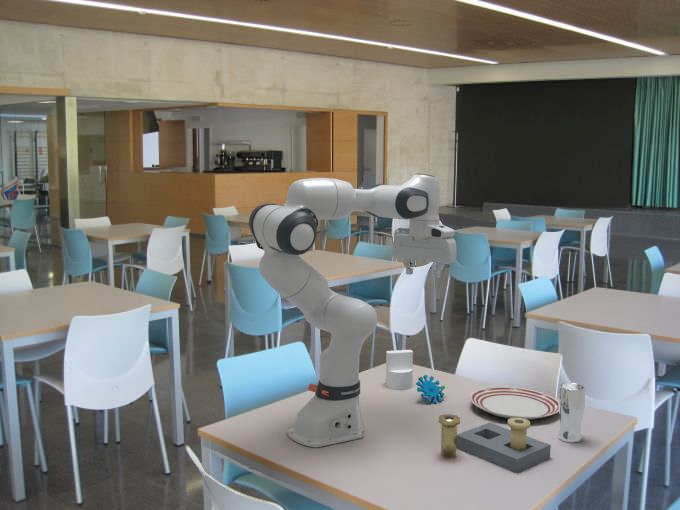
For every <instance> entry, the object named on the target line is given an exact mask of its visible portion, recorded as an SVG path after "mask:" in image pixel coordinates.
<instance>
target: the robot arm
mask: <svg viewBox="0 0 680 510" xmlns="http://www.w3.org/2000/svg"><path fill="white" fill-rule="evenodd" d="M288 187H289V188H288V189H287V194H286V199H285V200H286V201H285V202H284V204H283V206H282V205H280V204H279V205H278V204H276V203H272V202H271V203H263V204H260V205H258V206H256V207H255V208H254V209H253V210H252V211H251V213H250V216H249V219H248V226H249V229H250V233H251V234H252V236H253V238H254V240H255V244H256V246H257V248H258V249H259V250H263V252H264V253H263V255H262V257H261V259H260V260H259V265H258V266H259V267H258V270H259V273H260V275H261V277H262V278H263V279H264V281H266V283H267V284H268V285H269V286H270V287H271V288H272V289H273V290H274V291H275V292H277V293H278V294H279V295H280V296H281V297H283V298H284V299H285V300H286V301H288V302H289V303H291V304H292V305H293V306H295V308H297V309H298V310H299V311H301V313H302V315H303V317H304V319H305V320H306V322H307V323H309V324H310V325H312V326H313V327H315V328H317V329H318V330H320V331H324V332H327V333H330V342H329V346H328V347H326V348H324V350H322V352H321V353H320V355H319V356H320V357H319V380H318V382H317V385H315V384H313V383H310V384H308V386H307V388H308V389H307V390H308V391H310V392H312V393H314V396H312V398H310V400H308V402H307V403H305V405H304V406H303V407H302V408H301V409H300V410H299V411H298V412H297V414H296V418H295V426H293V427H290V428H289V429H287V431H286V433H287V436H288V437H289V439H291V440H292V441H294V442H296V443H298V444H300V445H303V446H306V447H309V448H310V447H311V448H320V447H326V446H331V445H335V444H339V443H344V442H348V441H352V440H353V441H354V440H358V439H361V438H363V437H364V436H363V433H364V431H365V425H364V422H363V418H362V411H361V405H360V403H361V402H360V394H361V380H360V379H359V378H360V377H359V376H360V375H359V374H360V373H359V372H360V371H359V370H360V357H361V356H360V355H361V351H362V347H363V345H364V343H365V341H366V339H368V338H369V337H370V336H371V335H372V334H373V333H374V331H376V328H377V323H378V314H377V311H376V309H375V308H374V307H373V306H372V305H371V304H369V303H368V302H365V301H363V300H362V299H359V298H355V297H351V296H348V295H347V296H346V295H345V294H340V293H337V292H336V291H334V290H333V289H331V288H330V286H329V281H328V279H327V278H326V277H325V276H324V275H322V274H321V273H320V272H319V270H318V271H317V269H315V268H314V267H313V266H312V265H311V264H310V263H308V262H307V261H305V259H303V258H301V255H303V254H304V255H305V254H307V253H308V252H310V250H311V249H312V248H313V246H314V244H315V243H316V239H317V235H318V234H317V232H318V226H319V220H322V221H326V220H329V221H334V220H335V221H336V220H342V219H346V218H349V217H350V216H351V215H352V213H353V212H354V211H355V212H356V211H357V212H358V211H359V212H366V213H367V214H369V215H370V216H372V217H375V218H376V219H377V218H379V219H381V218H382V219H383V218H385V219H393V220H396V219H397V220H405V221H406V220H409V222H408V223H409V224H408V226H409V227H406V228H405V227H398V228H396V229H395V230H394V232H393V243H392V251H391V254H392V256H393V259H398V260H399V259H400V260H402V265H403V266H404V268H405V274H406V275H410V276H411V275H413V274H414V273H413V271H414V268H413V267H411V265H410V263H411V261H419V262H429V263H430V262H431V263H436V266H437V269H436V270H435V271H433V275H432V276H433V278H436V279H439V278H441V274H442V271H443V269H444V268H445V266H446V265H445V264H448V265H449V264H454V263H455V262H456V260H457V257H458V255H457V251H458V250H457V242H456V240H455V238H454V237H455V234H456V232H455V231H456V230H455V229H453V228H451V227H449V226H446V225H444V224H443V223H440V216H439V209H440V206H441V187H440V182H439V179H438V178H437V177H436V176H435V175H431V174H425V173H415V174H413V175H412V176H411V178H410V179H409V180H407V181H406V182H404V183H402V184H400V185H398V184H397V185H396V184H395V185H393V184H385V183H378V184H377V183H376V184H374V185H372V186H370V187H368V188H366V189H365V188H364V189H363V188H362V189H361V188H354V187H353V185H352V184H351V182H349V181H345V180H341V179H337V178H332V177H330V178H329V177H311V178H303V179H298V180H295V181H293V182H292V184H290V186H288Z"/></svg>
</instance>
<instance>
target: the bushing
mask: <svg viewBox="0 0 680 510" xmlns="http://www.w3.org/2000/svg"><path fill="white" fill-rule="evenodd" d="M438 423H439V424H440V426H441V427H440V429H441V430H440V431H441V432H440V433H441V434H440V437H441V439H440V455H441V456H442V457H443V458H447V459H452V458H455V457H457V448H456V446H457V434H458V425H460V424H461V417H460V416H458V415H455V414H450V413H449V414H448V413H447V414H445V413H443V414H441V415H439V416H438Z"/></svg>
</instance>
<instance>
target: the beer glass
mask: <svg viewBox="0 0 680 510" xmlns="http://www.w3.org/2000/svg"><path fill="white" fill-rule="evenodd" d="M585 389H586V387H585V386H584V385H583V384H580V383H576V382H564V383H563V382H562V383H560V384H559V391H558V398H557V400H558V407H559V412H558V413H559V422H560V425H559V426H560V427H559V431H558V432H559V433H558V434H557V435H558V439H559V440H560V441H562V442H566V443H570V444H571V443H572V444H576V443H580V442H581V441H582V433H581V431H582V430H581V424H582V420H583V417H584V412H585V406H586V405H585V404H586V390H585Z"/></svg>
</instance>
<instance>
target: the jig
mask: <svg viewBox="0 0 680 510" xmlns="http://www.w3.org/2000/svg"><path fill="white" fill-rule="evenodd" d="M507 426H508V427H509V429H508V428H506V427H503V426H500V425H497V424H495V423H492V422H487V423H485V424H482V425H479V426H476V427H474V428H470V429H467V430H465V431H463V432H459V433H457V446H456V449H459V450H461V451H464V452H465V453H469V454H471V455H473V456H476V457H478V458H480V459H483V460H486V461H488V462H490V463H492V464H495V465H497V466H499V467H502V468H504V469H507V470H510V471H512V472H514V473H516V474H517V473H519V472H522V471H523V470H524V471H525V470H526V469H528V468H530V467H533V466H535V465H537V464H539V463H542V462H544V461H546V460H548V459H550V458H551V447H552V446H551V444H550V443H546V442H544V441H541V440H540V439H535V438H533V437H532V436H531V437H530V436H528V435H527V434H528V433H527V431H528V429H530V427H531V421H530V420H527V419H524V418H510V419H507Z"/></svg>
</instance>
